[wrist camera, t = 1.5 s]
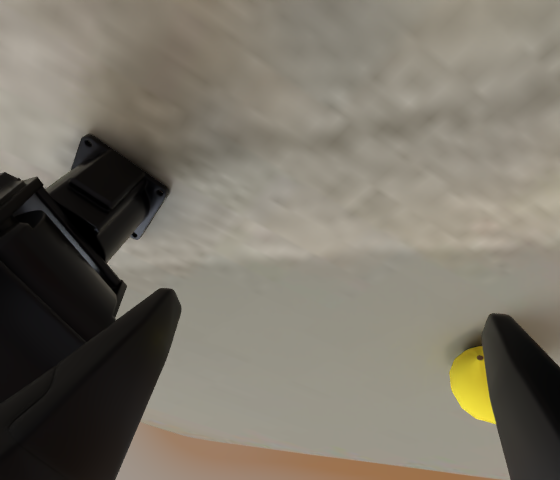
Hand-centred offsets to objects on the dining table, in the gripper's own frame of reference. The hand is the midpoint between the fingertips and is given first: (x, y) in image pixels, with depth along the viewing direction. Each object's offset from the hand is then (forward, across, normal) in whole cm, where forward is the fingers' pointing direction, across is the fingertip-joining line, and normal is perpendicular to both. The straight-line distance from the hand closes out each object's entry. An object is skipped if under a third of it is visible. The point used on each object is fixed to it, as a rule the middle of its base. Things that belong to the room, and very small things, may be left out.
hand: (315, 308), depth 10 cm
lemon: (+13, -11, +20) cm, 26 cm away
